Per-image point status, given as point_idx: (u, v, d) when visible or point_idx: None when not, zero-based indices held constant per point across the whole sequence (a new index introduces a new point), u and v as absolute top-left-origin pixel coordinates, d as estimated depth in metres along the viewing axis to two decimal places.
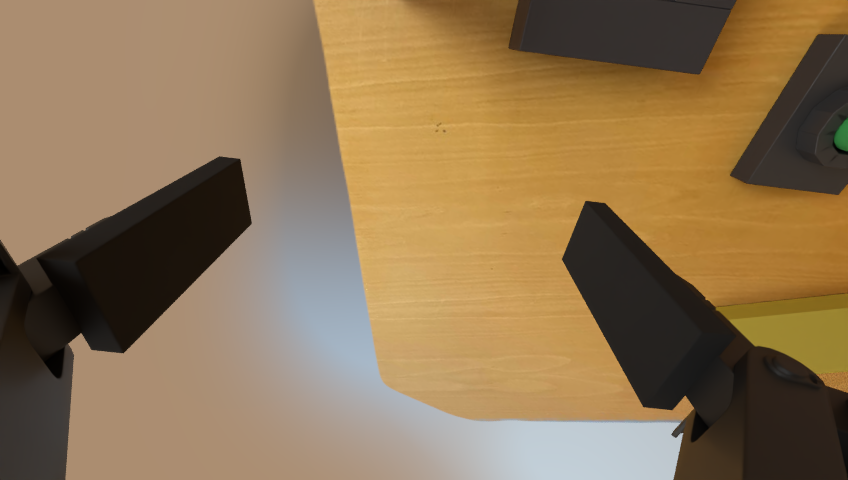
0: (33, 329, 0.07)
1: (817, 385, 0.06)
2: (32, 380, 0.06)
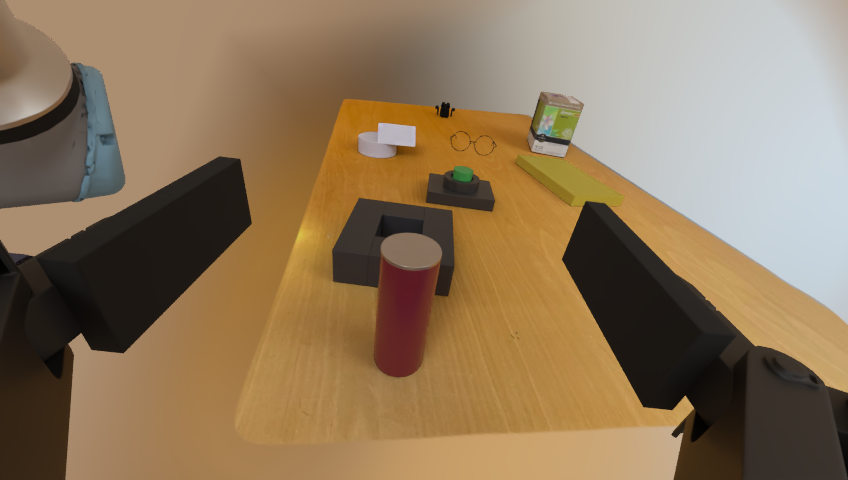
0: (33, 329, 0.07)
1: (817, 385, 0.06)
2: (32, 380, 0.06)
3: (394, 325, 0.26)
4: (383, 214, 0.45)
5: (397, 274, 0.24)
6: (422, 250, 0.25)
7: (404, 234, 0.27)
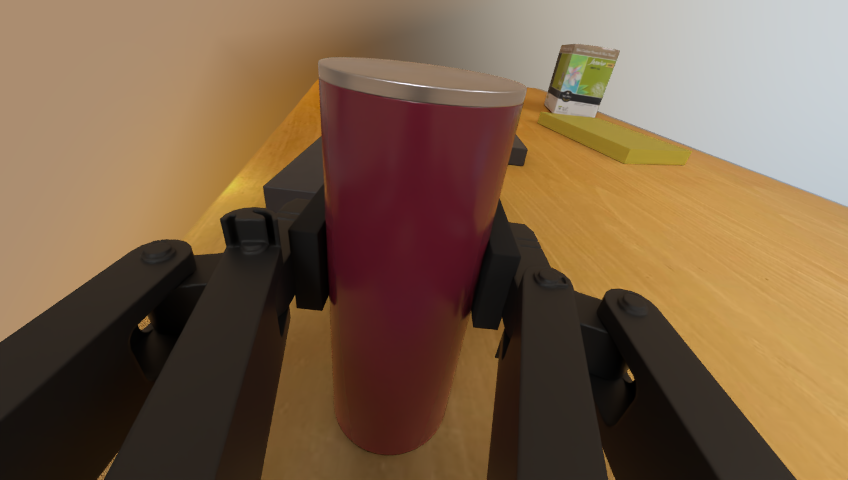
0: (276, 291, 0.08)
1: (565, 284, 0.08)
2: (271, 337, 0.07)
3: (374, 328, 0.09)
4: None
5: (375, 130, 0.06)
6: (460, 76, 0.08)
7: (400, 61, 0.09)
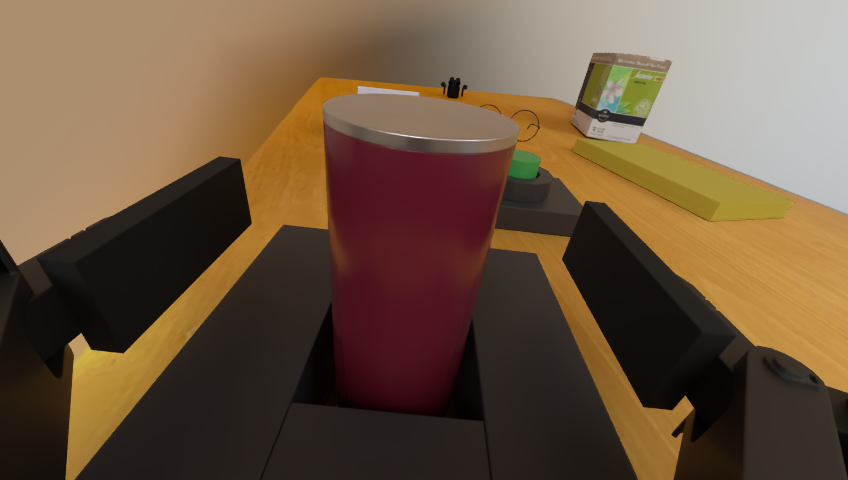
0: (33, 329, 0.07)
1: (817, 385, 0.06)
2: (32, 380, 0.06)
3: (376, 351, 0.09)
4: None
5: (376, 174, 0.07)
6: (457, 116, 0.08)
7: (400, 95, 0.10)
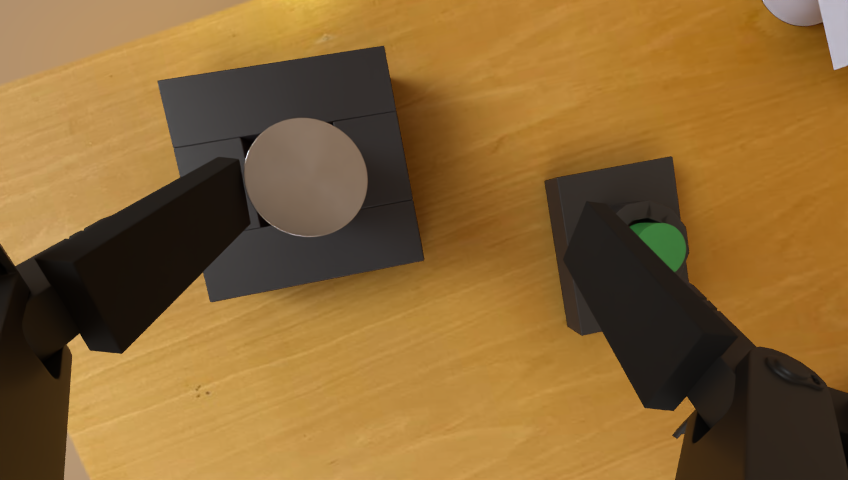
0: (31, 329, 0.07)
1: (819, 386, 0.06)
2: (30, 381, 0.06)
3: None
4: (334, 122, 0.21)
5: None
6: (314, 199, 0.13)
7: (351, 150, 0.13)
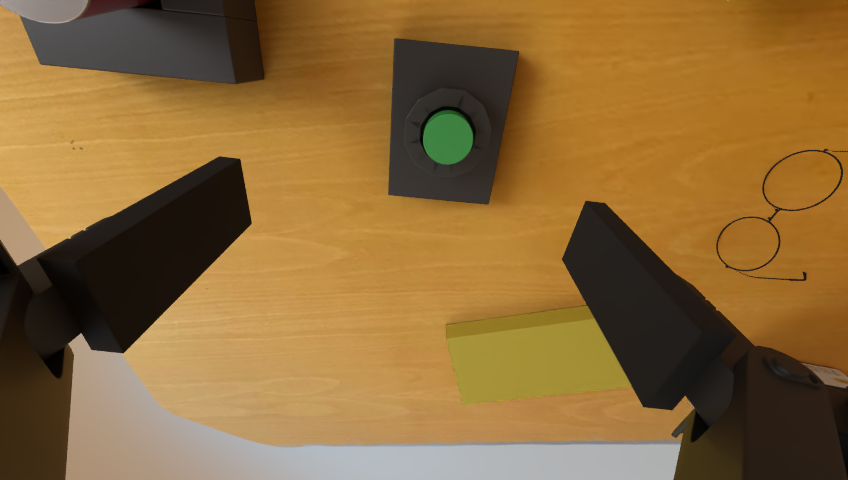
0: (33, 329, 0.07)
1: (817, 385, 0.06)
2: (32, 380, 0.06)
3: None
4: None
5: None
6: None
7: None
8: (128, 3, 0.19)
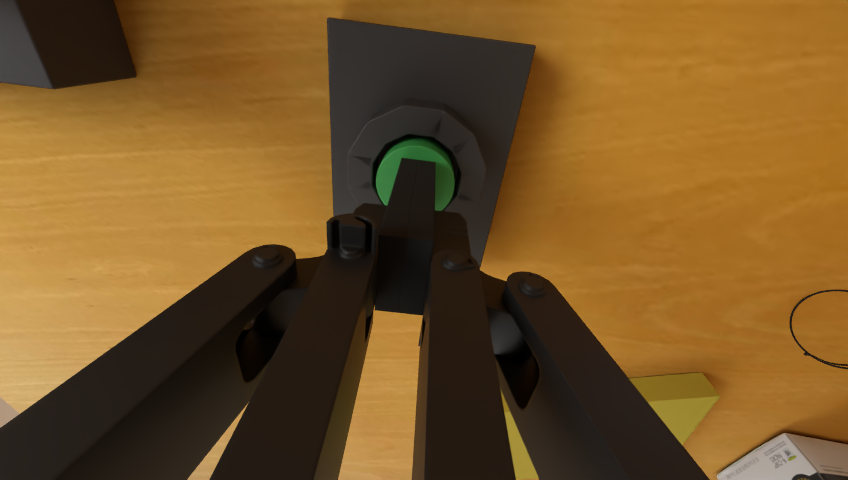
0: None
1: (472, 265, 0.08)
2: (359, 343, 0.07)
3: None
4: None
5: None
6: None
7: None
8: None
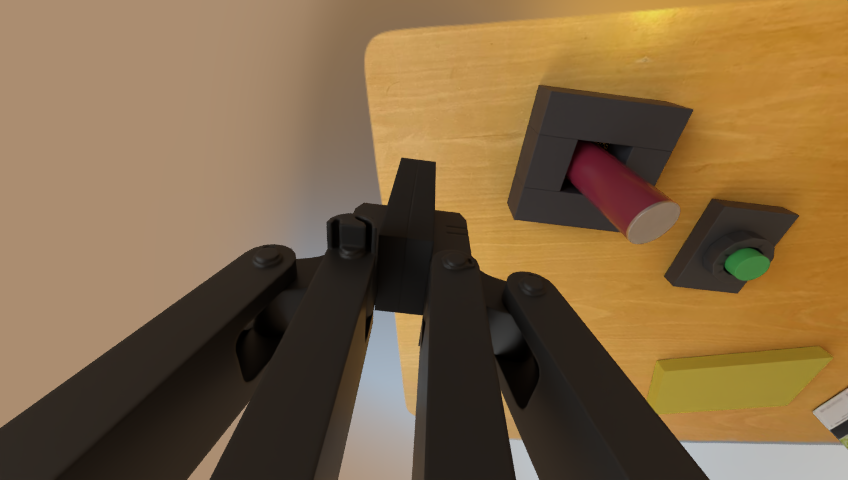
0: None
1: (472, 265, 0.08)
2: (359, 343, 0.07)
3: (593, 184, 0.32)
4: (633, 147, 0.33)
5: (629, 213, 0.29)
6: (648, 231, 0.29)
7: (676, 215, 0.29)
8: None
